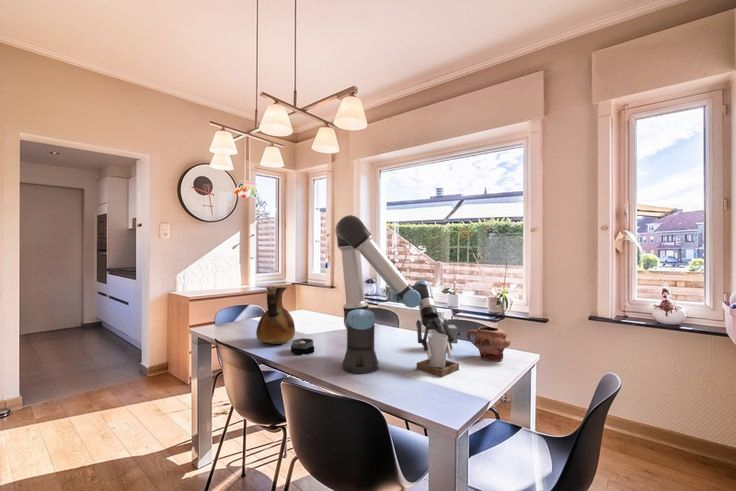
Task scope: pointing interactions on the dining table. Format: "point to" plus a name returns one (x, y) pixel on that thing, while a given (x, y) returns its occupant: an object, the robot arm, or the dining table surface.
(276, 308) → the brown vase
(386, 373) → the dining table surface
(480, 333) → the brown clay rounded pot
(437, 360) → the cup
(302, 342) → the cpu cooler
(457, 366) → the wooden tray
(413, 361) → the dining table surface
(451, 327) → the circuit breaker
